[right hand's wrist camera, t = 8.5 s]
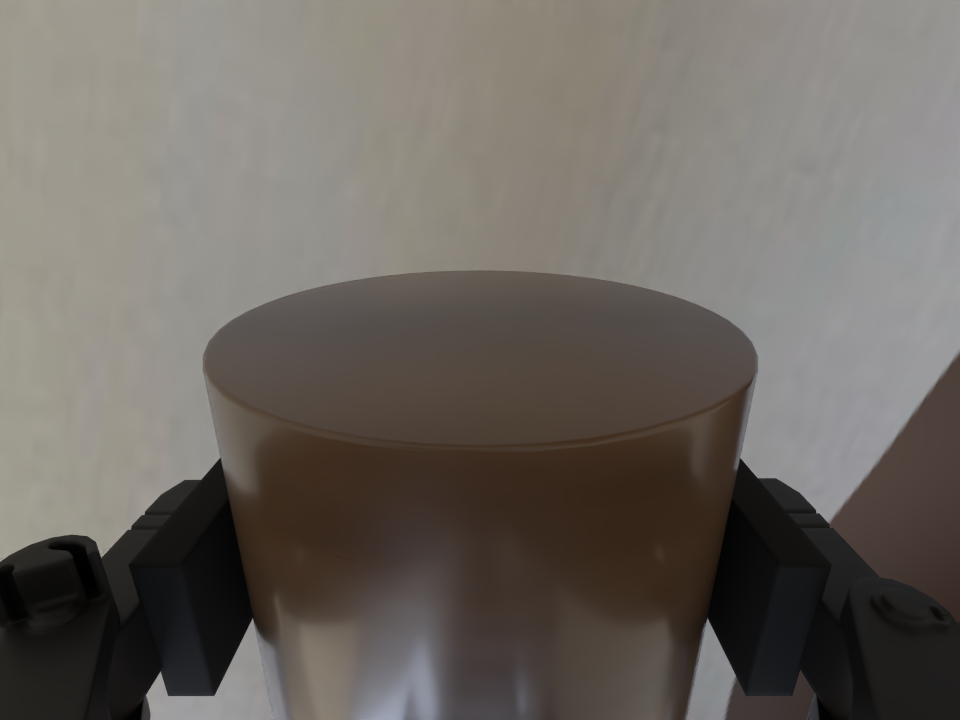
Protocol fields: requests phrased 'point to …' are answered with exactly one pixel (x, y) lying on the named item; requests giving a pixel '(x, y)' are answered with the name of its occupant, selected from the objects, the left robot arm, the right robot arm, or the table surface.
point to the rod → (480, 493)
